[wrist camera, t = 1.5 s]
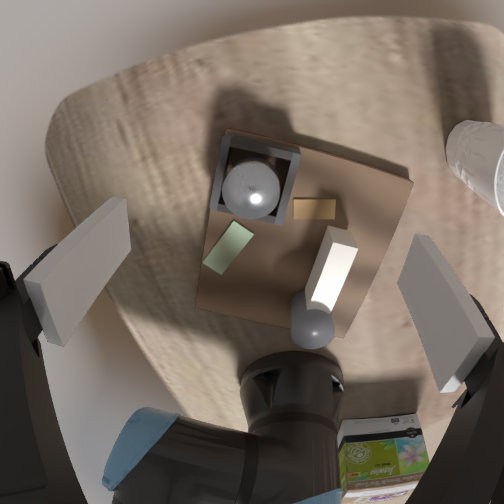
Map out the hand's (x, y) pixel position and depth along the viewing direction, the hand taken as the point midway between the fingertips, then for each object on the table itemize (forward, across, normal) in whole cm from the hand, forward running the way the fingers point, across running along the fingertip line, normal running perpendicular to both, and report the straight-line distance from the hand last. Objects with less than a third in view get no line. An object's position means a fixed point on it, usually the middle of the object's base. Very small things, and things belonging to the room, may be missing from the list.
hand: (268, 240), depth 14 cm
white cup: (+18, -20, -4) cm, 28 cm away
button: (+14, +2, +2) cm, 14 cm away
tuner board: (+17, -3, +10) cm, 20 cm away
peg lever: (+16, -6, +12) cm, 21 cm away
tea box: (+16, -25, +46) cm, 55 cm away
